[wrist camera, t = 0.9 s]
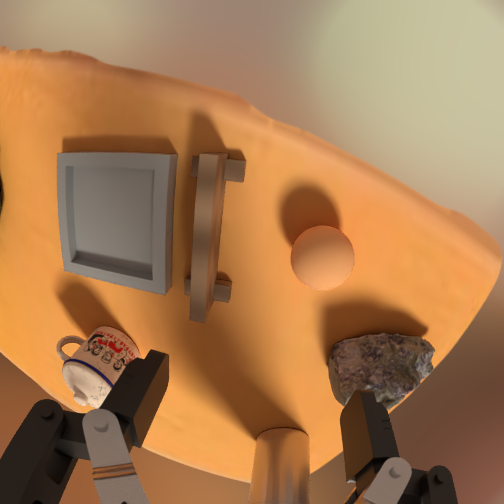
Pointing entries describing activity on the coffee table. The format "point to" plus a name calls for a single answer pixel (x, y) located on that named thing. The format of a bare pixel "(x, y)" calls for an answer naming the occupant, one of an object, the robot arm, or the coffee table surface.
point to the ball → (322, 257)
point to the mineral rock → (379, 366)
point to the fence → (209, 230)
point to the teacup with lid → (96, 363)
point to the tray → (118, 216)
